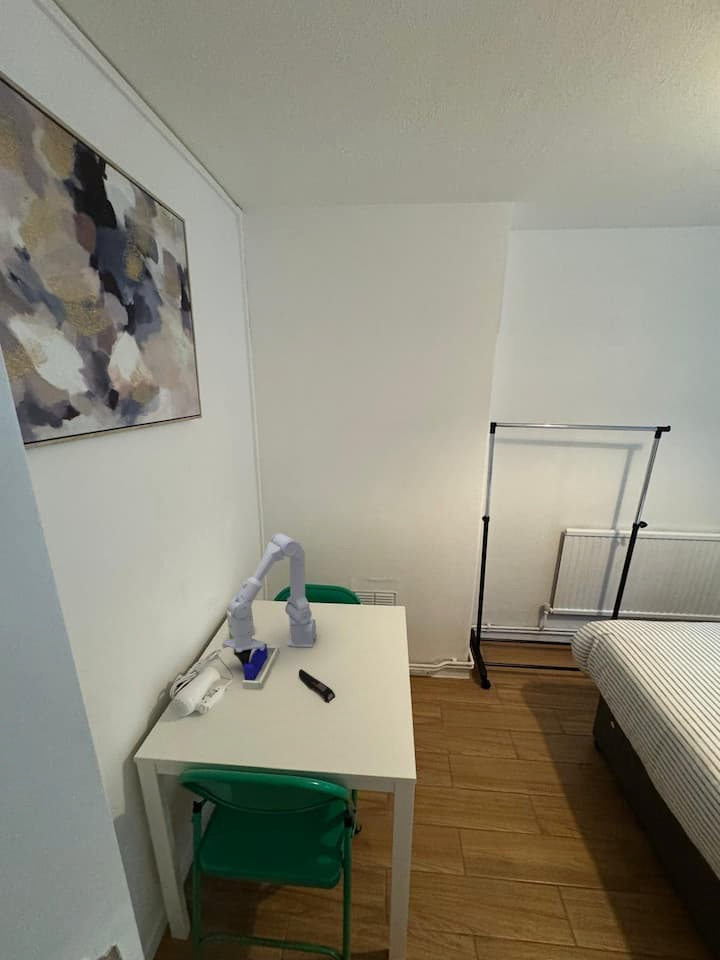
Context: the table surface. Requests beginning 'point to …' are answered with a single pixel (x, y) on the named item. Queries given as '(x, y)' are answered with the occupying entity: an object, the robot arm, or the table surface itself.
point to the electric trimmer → (317, 686)
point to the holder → (260, 683)
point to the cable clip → (255, 664)
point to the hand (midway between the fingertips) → (246, 665)
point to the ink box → (231, 624)
